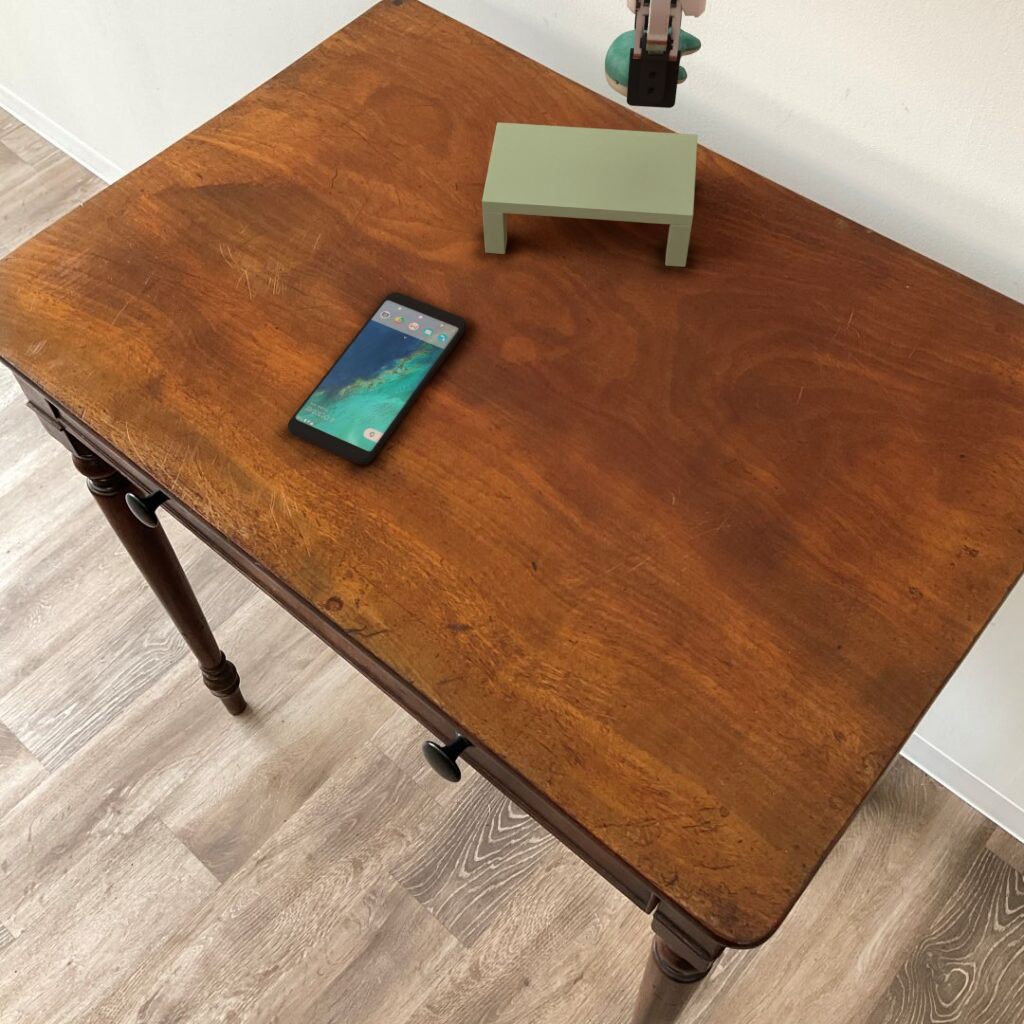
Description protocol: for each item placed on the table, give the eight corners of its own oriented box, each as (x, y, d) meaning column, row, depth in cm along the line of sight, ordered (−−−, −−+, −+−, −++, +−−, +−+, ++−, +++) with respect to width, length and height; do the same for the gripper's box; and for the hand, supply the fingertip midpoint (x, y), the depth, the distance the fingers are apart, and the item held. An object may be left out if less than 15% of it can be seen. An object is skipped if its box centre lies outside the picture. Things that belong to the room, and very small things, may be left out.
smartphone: (470, 319, 84) (366, 464, 77) (471, 325, 85) (367, 470, 78) (391, 287, 86) (281, 427, 79) (392, 294, 87) (284, 433, 80)
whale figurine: (584, 80, 76) (585, 31, 73) (657, 33, 79) (662, -17, 75) (645, 120, 74) (650, 71, 71) (719, 70, 76) (727, 20, 73)
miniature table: (690, 188, 92) (697, 134, 87) (685, 267, 87) (693, 215, 83) (499, 175, 93) (497, 122, 89) (485, 253, 89) (481, 200, 84)
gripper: (747, -124, 56) (704, 157, 71) (751, -289, 65) (712, -8, 80) (598, -130, 56) (587, 150, 71) (623, -292, 65) (608, -13, 80)
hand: (654, 65), depth 76 cm, fingers closed on whale figurine, 7 cm apart
